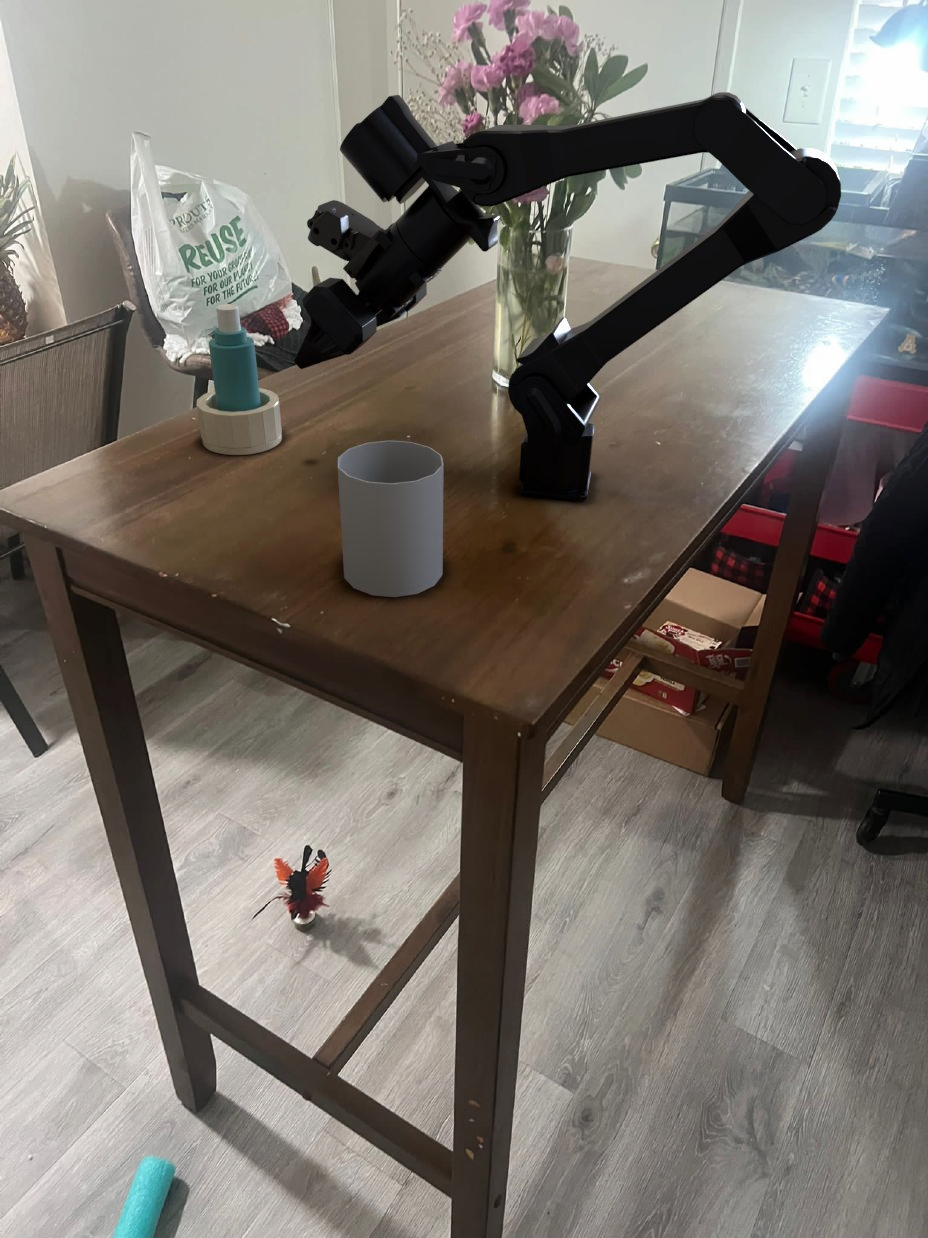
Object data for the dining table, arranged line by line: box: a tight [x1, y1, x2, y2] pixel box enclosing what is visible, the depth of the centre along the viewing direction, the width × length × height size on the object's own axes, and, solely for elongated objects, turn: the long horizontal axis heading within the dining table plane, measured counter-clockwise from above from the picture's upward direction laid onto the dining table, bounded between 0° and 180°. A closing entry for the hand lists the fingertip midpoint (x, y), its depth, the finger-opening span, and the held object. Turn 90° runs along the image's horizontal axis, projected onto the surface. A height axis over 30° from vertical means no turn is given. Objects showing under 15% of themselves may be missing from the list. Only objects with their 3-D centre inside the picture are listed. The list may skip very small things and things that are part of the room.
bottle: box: [208, 303, 261, 412], centre depth 96 cm, size 5×5×14 cm
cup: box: [337, 440, 445, 598], centre depth 74 cm, size 8×8×10 cm
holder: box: [196, 387, 283, 456], centre depth 98 cm, size 9×9×4 cm
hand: (317, 351), depth 91 cm, fingers open, 9 cm apart
